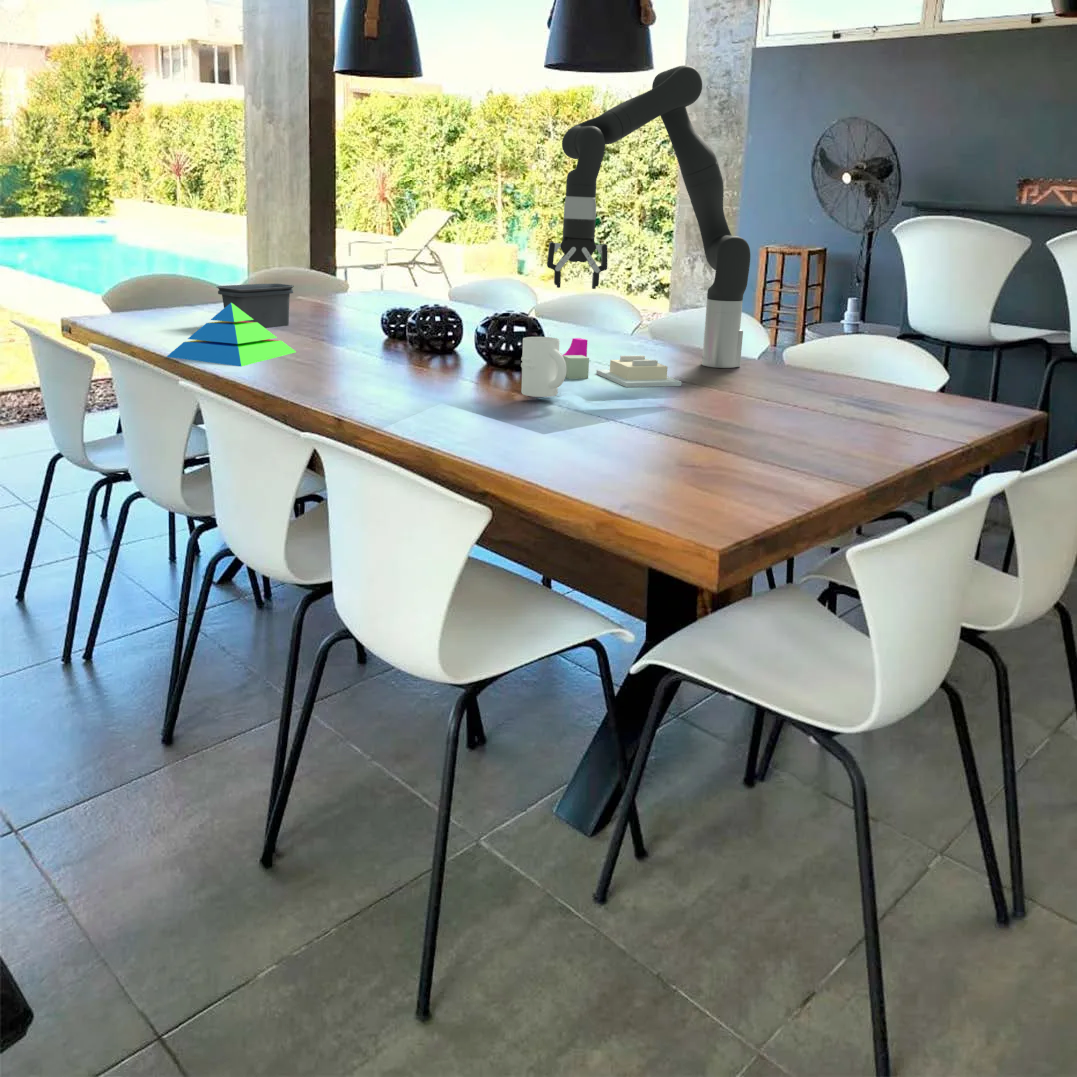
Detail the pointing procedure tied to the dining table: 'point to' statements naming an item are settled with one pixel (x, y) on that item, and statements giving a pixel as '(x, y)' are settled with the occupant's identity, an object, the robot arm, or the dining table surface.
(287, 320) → the storage bin
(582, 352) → the toy block
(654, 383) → the base
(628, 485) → the dining table surface
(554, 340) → the mug
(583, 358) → the sage cube
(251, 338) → the pyramid toy
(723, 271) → the robot arm
